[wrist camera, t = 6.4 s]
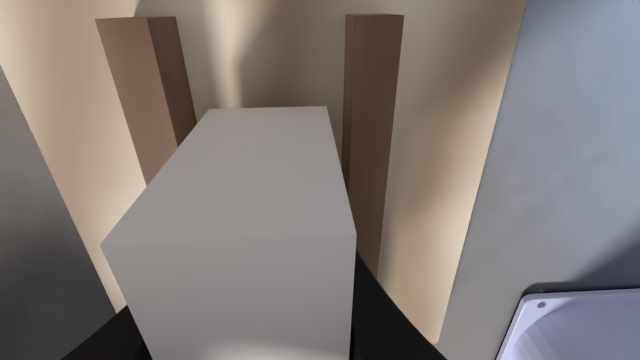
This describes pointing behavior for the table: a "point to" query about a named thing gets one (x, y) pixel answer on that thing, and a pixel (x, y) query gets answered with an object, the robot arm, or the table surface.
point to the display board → (275, 91)
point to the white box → (242, 242)
